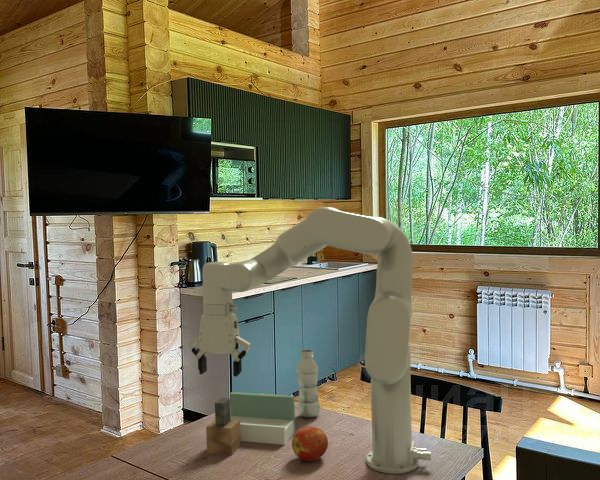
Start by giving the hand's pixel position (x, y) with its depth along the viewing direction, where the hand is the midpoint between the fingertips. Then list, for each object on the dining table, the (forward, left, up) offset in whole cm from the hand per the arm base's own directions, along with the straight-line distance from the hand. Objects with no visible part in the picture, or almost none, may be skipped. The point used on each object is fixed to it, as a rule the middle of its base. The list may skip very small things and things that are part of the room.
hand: (219, 373), depth 143 cm
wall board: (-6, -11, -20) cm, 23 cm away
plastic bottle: (-16, -27, -20) cm, 38 cm away
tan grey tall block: (0, 0, -20) cm, 20 cm away
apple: (-24, +1, -20) cm, 32 cm away
